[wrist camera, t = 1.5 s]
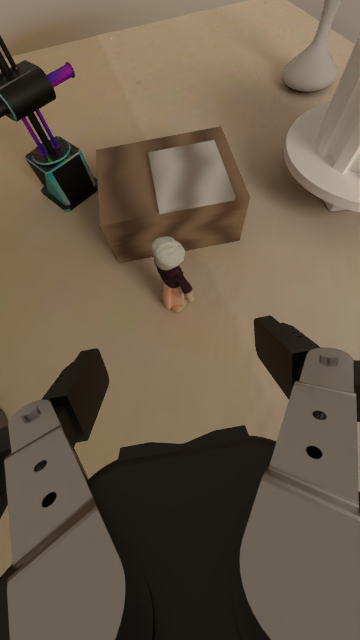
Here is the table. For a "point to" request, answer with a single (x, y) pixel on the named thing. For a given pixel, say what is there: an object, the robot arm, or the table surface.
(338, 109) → the ribbed cylinder on disc
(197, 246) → the stand
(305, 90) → the flower in vase
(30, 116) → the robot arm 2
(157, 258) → the grandmother figurine
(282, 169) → the table surface
